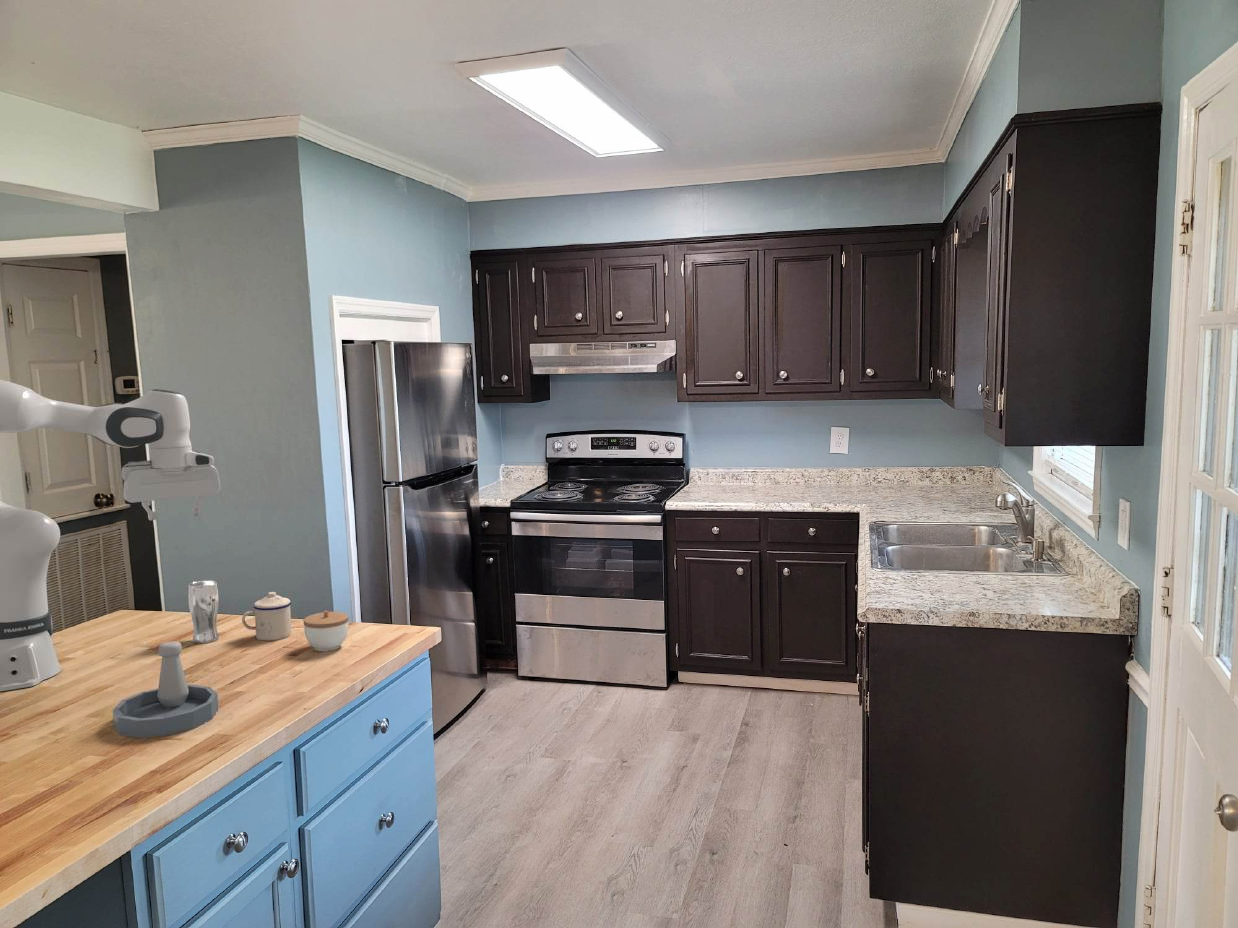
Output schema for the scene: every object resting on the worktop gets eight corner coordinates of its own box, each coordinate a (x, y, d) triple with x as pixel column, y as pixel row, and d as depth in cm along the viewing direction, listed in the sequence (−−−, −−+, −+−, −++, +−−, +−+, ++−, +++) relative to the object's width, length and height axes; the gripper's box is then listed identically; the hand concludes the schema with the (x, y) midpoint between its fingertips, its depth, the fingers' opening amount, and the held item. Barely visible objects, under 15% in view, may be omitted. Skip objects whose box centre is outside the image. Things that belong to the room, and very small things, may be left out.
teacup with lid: (291, 628, 231) (289, 586, 229) (293, 638, 222) (291, 594, 221) (243, 634, 226) (240, 591, 225) (242, 644, 218) (240, 599, 216)
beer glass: (208, 644, 217) (205, 587, 216) (184, 643, 219) (181, 585, 217) (226, 636, 224) (223, 580, 222) (202, 634, 225) (199, 579, 224)
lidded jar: (319, 639, 222) (318, 604, 220) (357, 642, 219) (356, 606, 218) (296, 653, 211) (294, 616, 210) (335, 655, 209) (333, 618, 208)
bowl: (127, 745, 159) (126, 727, 159) (106, 716, 173) (105, 700, 172) (228, 719, 171) (227, 702, 171) (201, 694, 184) (200, 678, 184)
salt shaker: (166, 698, 179) (162, 638, 178) (194, 698, 180) (190, 638, 178) (152, 709, 174) (148, 647, 172) (181, 709, 174) (177, 647, 172)
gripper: (124, 463, 190) (128, 524, 192) (220, 456, 204) (224, 514, 205) (117, 461, 195) (121, 520, 197) (212, 454, 208) (215, 510, 210)
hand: (174, 517), depth 201 cm, fingers open, 8 cm apart
